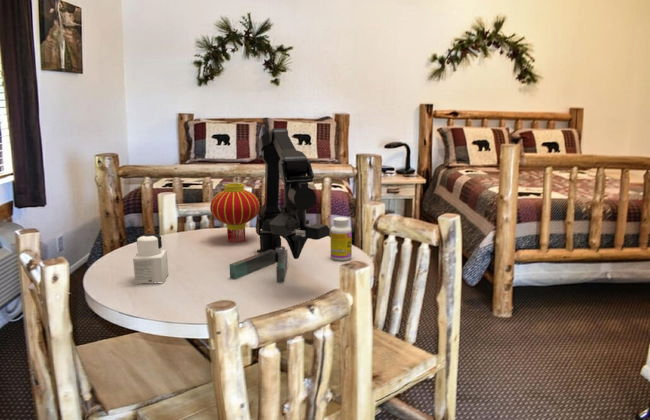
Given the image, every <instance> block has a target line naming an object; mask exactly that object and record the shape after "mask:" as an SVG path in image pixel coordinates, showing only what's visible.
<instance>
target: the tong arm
mask: <svg viewBox="0 0 650 420" xmlns="http://www.w3.org/2000/svg"><path fill="white" fill-rule="evenodd" d="M288 257H289V256H288V249H285V250H281V251H280V255H279V260H278V263H277V262H276V263H277V264H276V271H275V272H276V283H285V279H286V273H287V269H288V268H287V267H288V263H289V259H288Z"/></svg>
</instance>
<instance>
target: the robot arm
mask: <svg viewBox="0 0 650 420" xmlns="http://www.w3.org/2000/svg"><path fill="white" fill-rule="evenodd" d="M258 150H259V152H260V155H261V157H262V159H263V160H264V163H265V165H264V168H265V169H264V197H263V198H264V199H263V200H264V202H263V204H262V206H260V208H259V212H258V217H257V216H256V217H257V219H256V222H255V233H256V234H257V235H258V236H259V248H258V249H257V250H256V252H258V253H262V252H265V251H268V250H270V249H271V250H275V251H276V249H275V248H276V247H278V246H282V238H283V239H284V240H285V241H286V243H287V245H288V247H289V249H290V252H291V256H292V257H293V259H294V260H298V259H299V258H300V256H301V253H302V252H303V249H304V246H305V244H306V243H307V241H308V239H309V240H315V241H317V240H322V239H325V238H326V237H329V236H331V232H330V230H331V228H330V227H329V226H328V224H321V223H315V224H311V225H309V224H310V220H309V219H307V211H308V210H310V209H311V208H313V207H314V205H315V204H316V201H317V196H316V193H315V190H313V189H312V188H310V187H309V183H314V176H315V174H314V170H313V167H312V164H311V162H310V160H309V159H308V157H307V155H306V154H305V153H304V152H303V151H301V150H300V151H299V150H298V149H296V147H295V145H294V144H293V142H292V140H291V138H290V136H289V130H288V129H287V128H284V127H283V128H282V127H281V128H272V129H269V131H268V132H266V133H264V134H262V135H261V136H260V137H259V140H258ZM280 178H281V181H282V184H283V199H284V200H283V206H281V207H279V206H280V205H279V201H280V200H279V199H280V197H279V195H280Z"/></svg>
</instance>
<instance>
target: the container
mask: <svg viewBox="0 0 650 420" xmlns="http://www.w3.org/2000/svg"><path fill="white" fill-rule="evenodd" d="M136 244H137V245H136V246H137V253H136V255H134V257H133V259H132V260H133V261H132V262H133V273H134V283H155V282H156V283H158V282H165V281H166V280H167V278H166V277H168V276H169V264H168V263H169V262H168V251H167V249H163V243H162V236H161V235H160V234H157V233H145V234H141V235H139V236H138V237H136ZM167 275H168V276H167ZM164 280H165V281H164Z"/></svg>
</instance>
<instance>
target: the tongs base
mask: <svg viewBox="0 0 650 420" xmlns="http://www.w3.org/2000/svg"><path fill="white" fill-rule="evenodd" d="M275 249H276V251H275V250H271V249H270V250H268V251H265V252H259V253H258V254H254V255H251V256H249V257H247V258H244V259H240V260H238V261H235V262H232V263H229V266H228V267H229V279H232V280H233V279H234V280H237V279H239V278H241V277H245V276H248V275H250V274H252V273H254V272H257V271H259V270H262V269H264V268H266V267H269V266H271V265H274V264H276V263H278V260H279V255H280V251H281V250H286V246H284V245H281V246H278V247H276V248H275Z"/></svg>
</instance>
